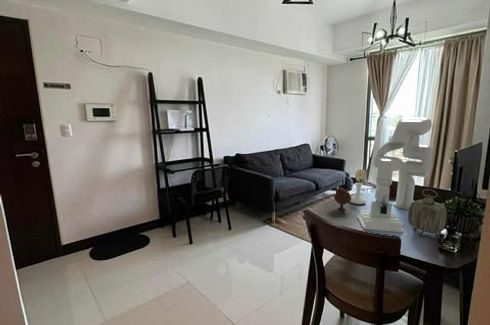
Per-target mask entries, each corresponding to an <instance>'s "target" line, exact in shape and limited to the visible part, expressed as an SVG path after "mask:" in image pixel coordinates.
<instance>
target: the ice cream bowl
mask: <svg viewBox="0 0 490 325" xmlns="http://www.w3.org/2000/svg"><path fill="white" fill-rule="evenodd" d="M351 198H352V195H351V194H350V192H349V191H348V190H347V189H345V188H344V187H338V188H336V190H335V193H334V194H333V199H334V200H335V202H336V203H337V204H339V205H340V207H337V208H336V210H337V211H338V212H342V213H343V212H346V211H347V209H346V208H344V205H347V204H348V203H351V202H350V200H351Z"/></svg>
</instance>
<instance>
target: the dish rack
mask: <svg viewBox="0 0 490 325" xmlns="http://www.w3.org/2000/svg"><path fill="white" fill-rule="evenodd" d="M359 211H360V212H359V215H357V219H358V221H359V223H360V225H361V227H362V229H363V230H372V231H386V232H395V233H396V232H397V233H404V229H403V222H400V219H399V218H397V215H394V212H391V218H390V219H389V218H377V217H370V211H371V210H364V209H362V210H361V209H360V210H359Z"/></svg>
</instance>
